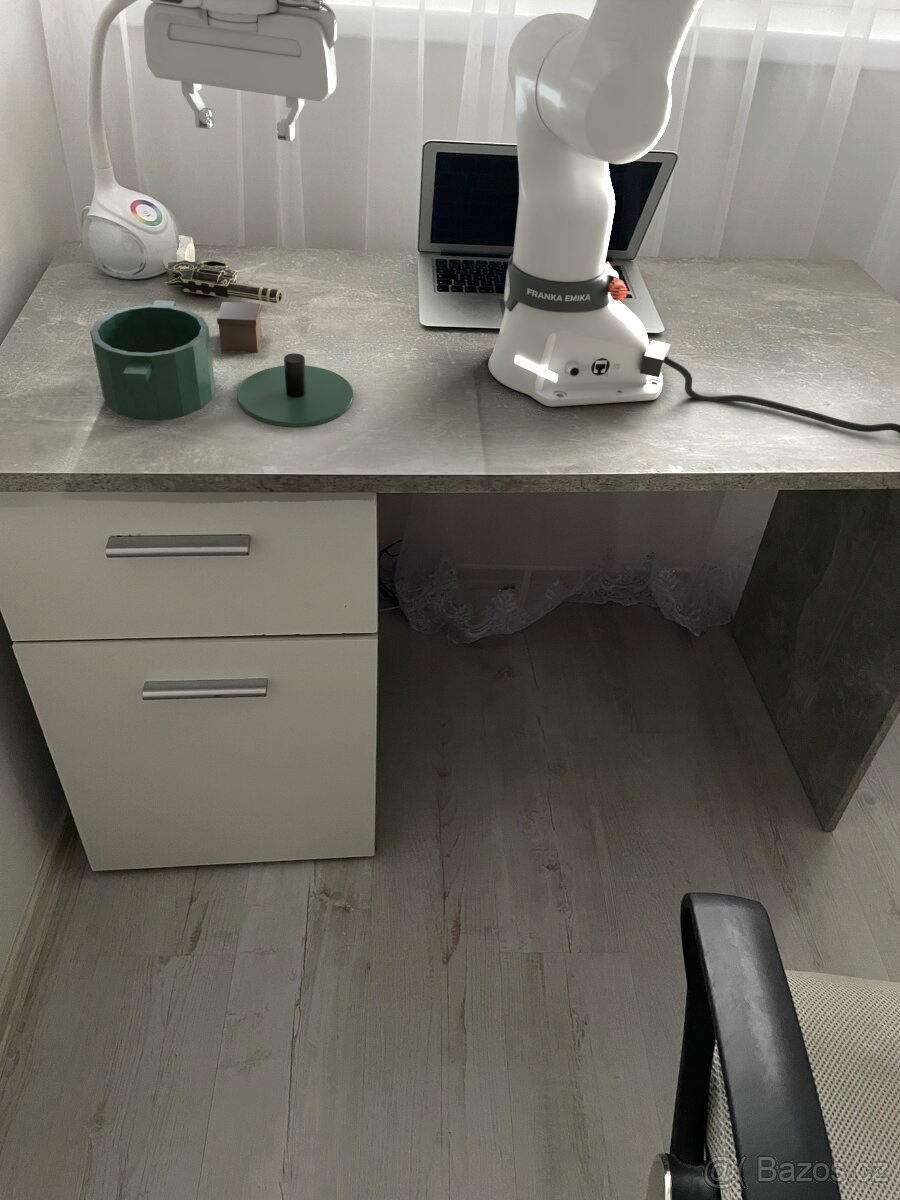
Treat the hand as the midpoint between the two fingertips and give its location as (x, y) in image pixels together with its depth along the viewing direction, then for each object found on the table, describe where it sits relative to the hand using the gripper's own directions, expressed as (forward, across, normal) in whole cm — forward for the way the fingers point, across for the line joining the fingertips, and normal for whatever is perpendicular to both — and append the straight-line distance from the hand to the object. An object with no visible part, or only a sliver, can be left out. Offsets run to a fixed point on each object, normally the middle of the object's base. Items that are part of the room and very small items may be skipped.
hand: (245, 133), depth 105 cm
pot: (+26, +7, +14) cm, 31 cm away
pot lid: (+26, -8, +10) cm, 29 cm away
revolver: (+26, +12, -18) cm, 34 cm away
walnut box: (+26, +2, 0) cm, 26 cm away
